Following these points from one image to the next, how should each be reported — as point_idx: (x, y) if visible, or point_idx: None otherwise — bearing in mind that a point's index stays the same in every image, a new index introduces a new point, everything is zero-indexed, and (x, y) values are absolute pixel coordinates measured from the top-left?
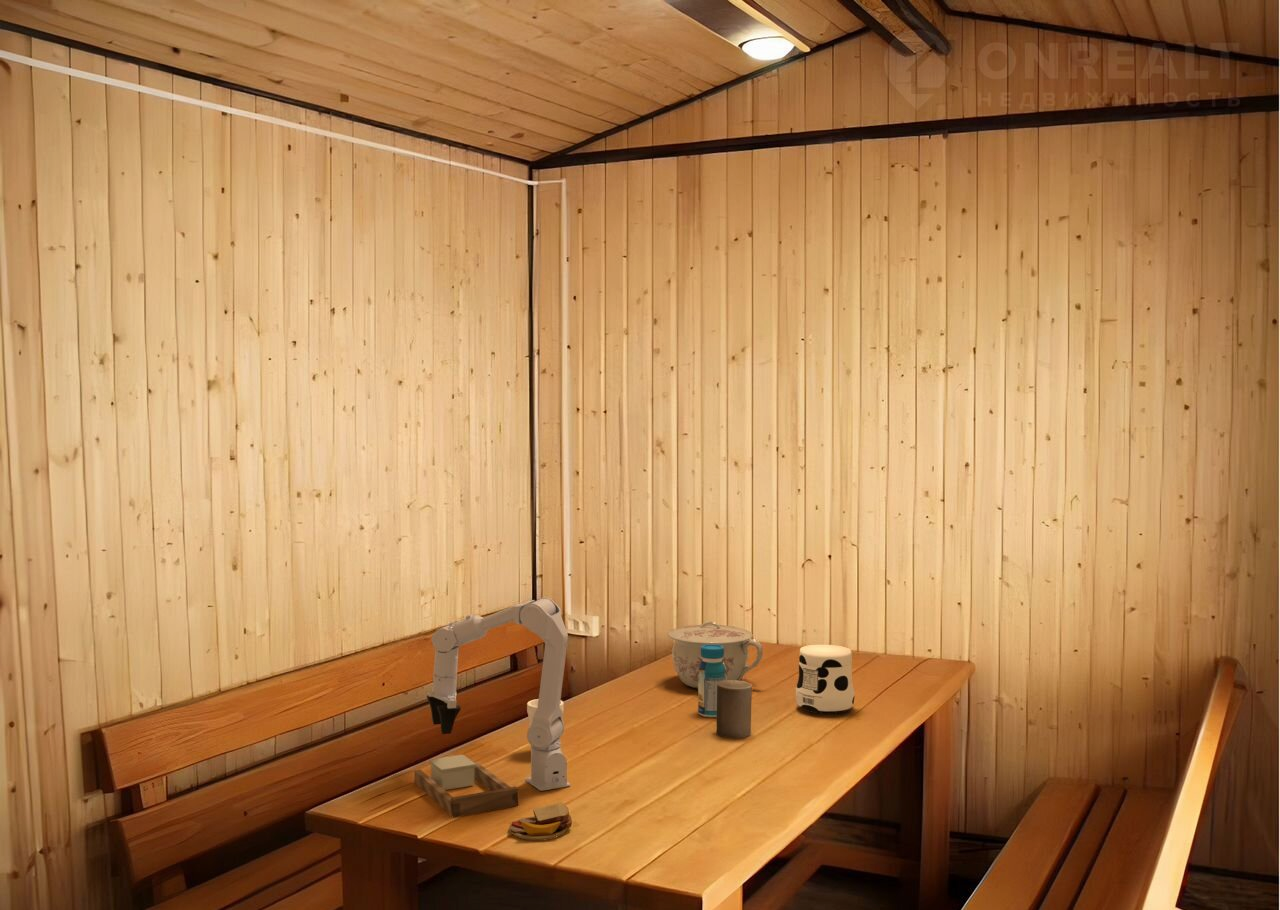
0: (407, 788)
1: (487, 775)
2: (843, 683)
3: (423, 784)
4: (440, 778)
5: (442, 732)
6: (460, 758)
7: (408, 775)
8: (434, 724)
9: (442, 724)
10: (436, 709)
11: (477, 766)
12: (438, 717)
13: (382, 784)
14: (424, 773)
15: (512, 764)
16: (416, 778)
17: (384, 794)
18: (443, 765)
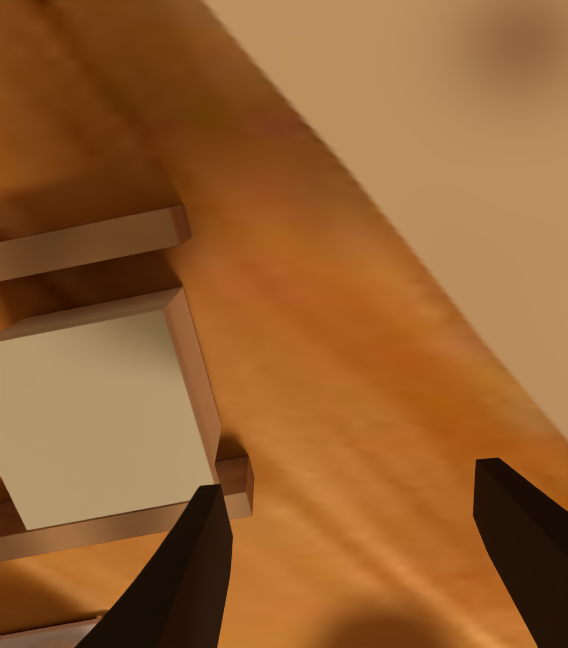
0: (101, 154)
1: (20, 533)
2: None
3: (31, 235)
4: (22, 330)
5: (194, 495)
6: (147, 475)
7: (314, 188)
8: (477, 463)
9: (151, 560)
10: (565, 608)
11: (163, 513)
12: (506, 542)
13: (201, 15)
14: (101, 257)
15: (315, 604)
16: (144, 212)
17: (17, 3)
18: (24, 374)
